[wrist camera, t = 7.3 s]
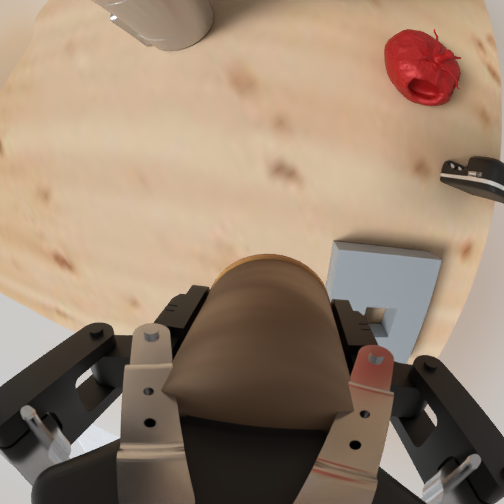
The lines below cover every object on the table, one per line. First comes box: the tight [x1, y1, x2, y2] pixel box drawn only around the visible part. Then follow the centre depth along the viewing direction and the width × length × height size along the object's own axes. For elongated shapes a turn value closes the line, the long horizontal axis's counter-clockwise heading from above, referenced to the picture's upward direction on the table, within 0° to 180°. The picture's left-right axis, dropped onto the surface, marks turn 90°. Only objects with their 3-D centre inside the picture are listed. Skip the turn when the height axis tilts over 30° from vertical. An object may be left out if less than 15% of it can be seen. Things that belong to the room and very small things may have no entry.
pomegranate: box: [384, 29, 461, 106], centre depth 20 cm, size 10×10×9 cm
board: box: [326, 241, 442, 364], centre depth 33 cm, size 14×18×4 cm
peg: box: [161, 254, 354, 432], centre depth 10 cm, size 6×6×10 cm
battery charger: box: [440, 156, 504, 203], centre depth 22 cm, size 7×4×11 cm, turn 81°
